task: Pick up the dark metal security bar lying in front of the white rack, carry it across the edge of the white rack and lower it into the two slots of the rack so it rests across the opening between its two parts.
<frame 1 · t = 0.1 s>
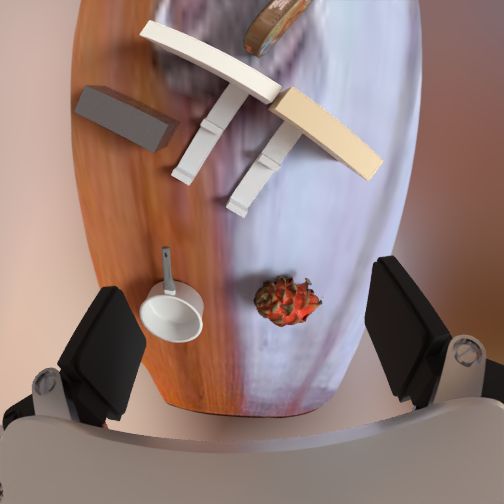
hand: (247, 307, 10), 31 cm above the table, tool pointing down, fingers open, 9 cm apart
security bar: (134, 114, 33), on the table
tin: (279, 21, 27), on the table
white rack: (259, 92, 32), on the table
saucepan: (175, 281, 48), on the table
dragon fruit: (285, 287, 48), on the table
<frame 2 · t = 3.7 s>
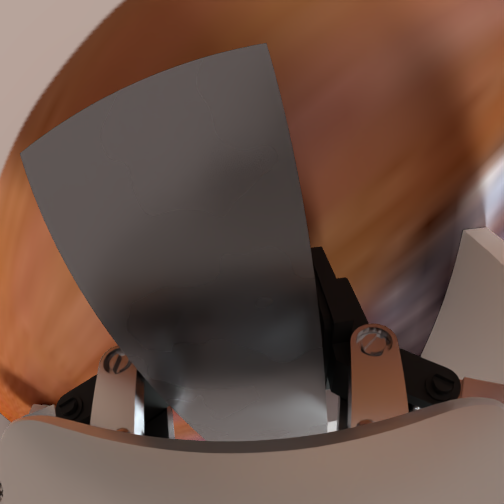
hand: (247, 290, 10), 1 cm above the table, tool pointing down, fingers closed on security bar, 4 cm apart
security bar: (247, 274, 11), on the table, touching gripper
white rack: (409, 392, 17), on the table
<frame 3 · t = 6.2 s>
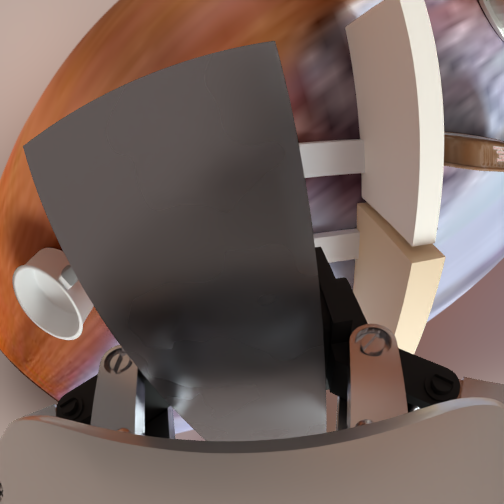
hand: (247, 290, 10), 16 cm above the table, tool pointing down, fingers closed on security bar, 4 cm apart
security bar: (247, 273, 11), point 15 cm above the table, touching gripper
tin: (452, 141, 21), on the table
white rack: (370, 179, 24), on the table
saucepan: (79, 263, 28), on the table
when the fingers open (3 cm above the table, at t = 9.1 s): security bar drops 2 cm, resting on white rack.
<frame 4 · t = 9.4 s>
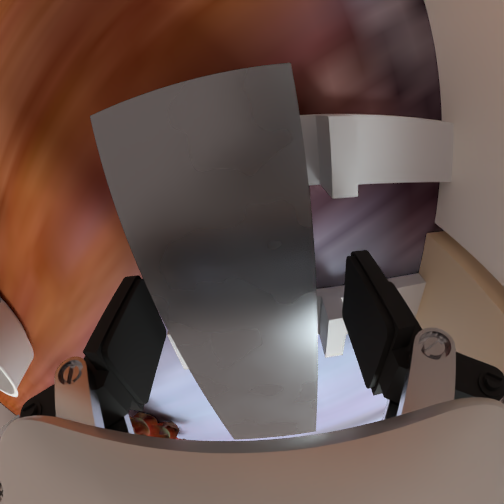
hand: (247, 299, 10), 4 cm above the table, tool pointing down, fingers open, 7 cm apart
security bar: (248, 251, 13), point 1 cm above the table, touching white rack
white rack: (450, 193, 12), on the table
saucepan: (8, 301, 16), on the table
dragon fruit: (159, 420, 24), on the table
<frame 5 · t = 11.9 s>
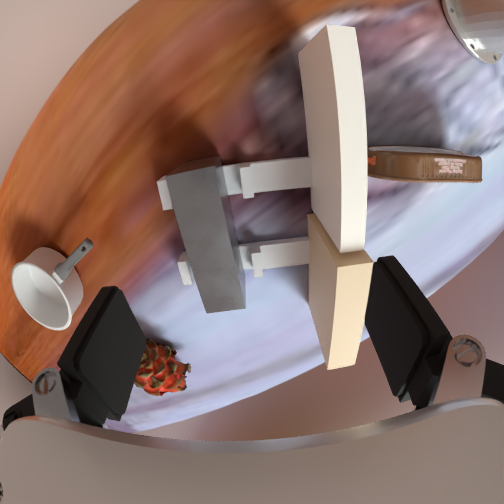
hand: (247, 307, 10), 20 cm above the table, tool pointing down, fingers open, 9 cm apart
security bar: (214, 223, 29), point 1 cm above the table, touching white rack
tin: (405, 154, 26), on the table
white rack: (319, 192, 28), on the table
saucepan: (70, 262, 31), on the table
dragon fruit: (162, 350, 39), on the table
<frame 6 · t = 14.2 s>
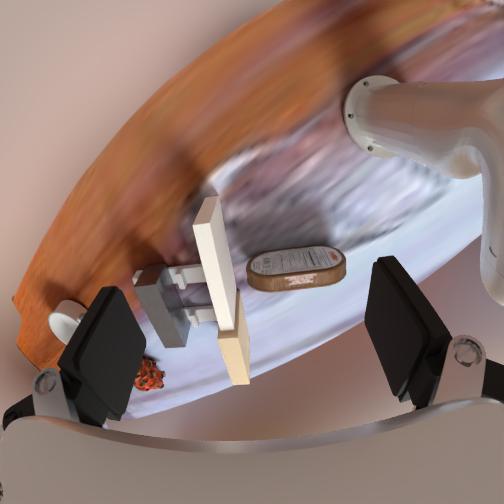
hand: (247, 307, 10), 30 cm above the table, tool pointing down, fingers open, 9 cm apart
security bar: (168, 297, 47), point 1 cm above the table, touching white rack
tin: (292, 252, 44), on the table
white rack: (229, 281, 46), on the table
saucepan: (86, 308, 50), on the table
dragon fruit: (148, 361, 58), on the table
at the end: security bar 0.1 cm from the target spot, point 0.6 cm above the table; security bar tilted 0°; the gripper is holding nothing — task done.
